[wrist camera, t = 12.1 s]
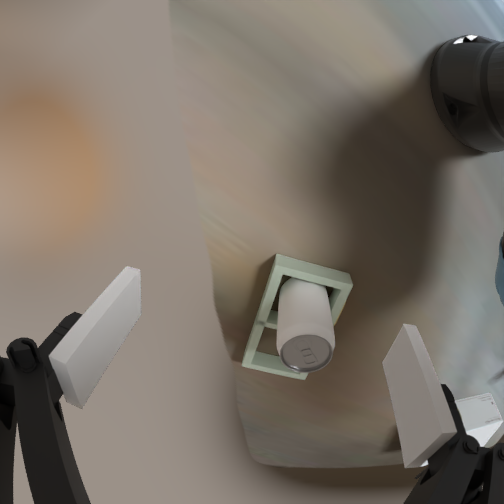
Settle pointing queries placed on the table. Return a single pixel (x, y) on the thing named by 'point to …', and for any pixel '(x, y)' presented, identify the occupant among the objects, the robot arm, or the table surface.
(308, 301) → the can
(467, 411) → the supplement box
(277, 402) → the table surface
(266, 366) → the socket board
